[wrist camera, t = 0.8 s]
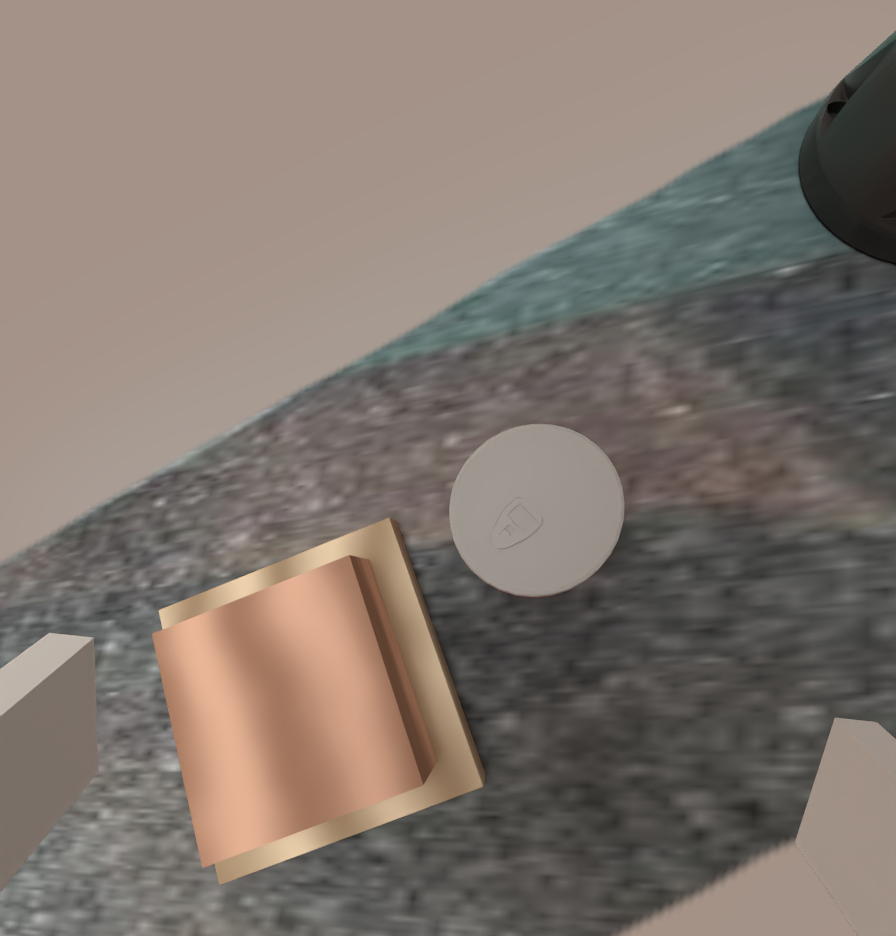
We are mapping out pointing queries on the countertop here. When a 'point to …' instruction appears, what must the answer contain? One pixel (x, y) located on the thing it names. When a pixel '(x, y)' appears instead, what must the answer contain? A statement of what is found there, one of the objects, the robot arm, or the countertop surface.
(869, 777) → the robot arm
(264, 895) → the countertop surface
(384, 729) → the stand
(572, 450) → the canned food
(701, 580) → the countertop surface
